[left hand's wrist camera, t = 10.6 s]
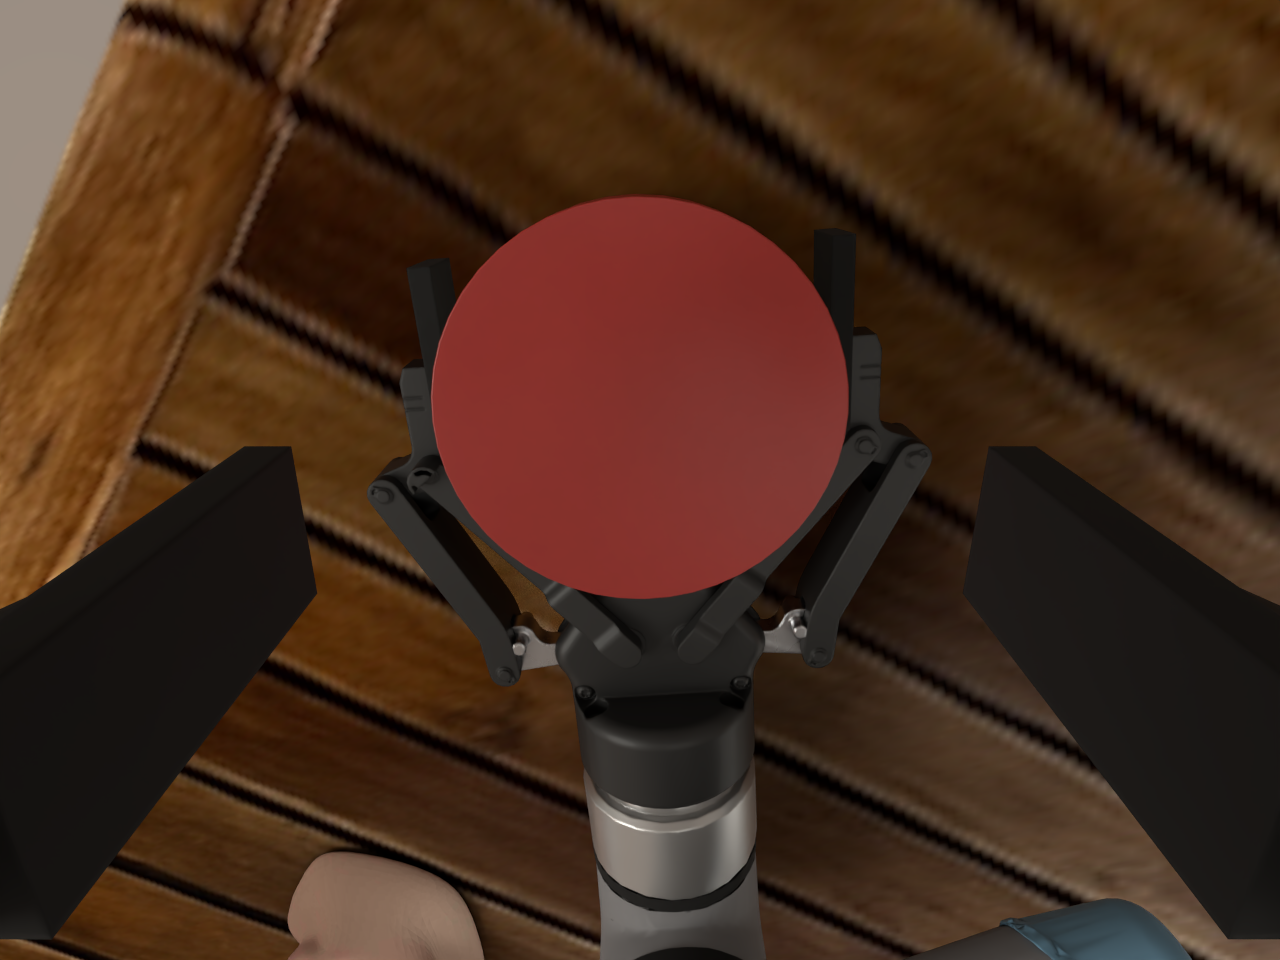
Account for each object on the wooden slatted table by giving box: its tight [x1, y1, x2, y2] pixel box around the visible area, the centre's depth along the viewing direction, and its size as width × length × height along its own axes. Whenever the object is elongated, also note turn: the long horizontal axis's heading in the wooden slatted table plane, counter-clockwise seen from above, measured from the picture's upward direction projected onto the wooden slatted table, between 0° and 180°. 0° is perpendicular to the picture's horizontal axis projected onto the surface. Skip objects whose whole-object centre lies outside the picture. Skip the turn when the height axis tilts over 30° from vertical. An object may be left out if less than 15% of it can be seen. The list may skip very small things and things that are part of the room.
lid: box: [431, 194, 849, 599], centre depth 19 cm, size 10×10×2 cm
